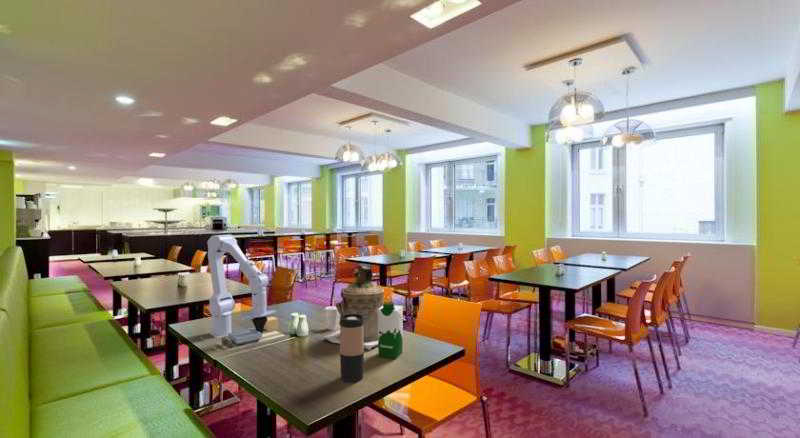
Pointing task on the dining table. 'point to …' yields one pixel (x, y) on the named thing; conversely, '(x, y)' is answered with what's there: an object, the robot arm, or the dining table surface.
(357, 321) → the travel mug
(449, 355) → the dining table surface
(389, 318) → the milk carton
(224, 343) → the track
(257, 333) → the blue square tray
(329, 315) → the smoothie
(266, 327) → the ochre block
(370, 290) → the cookie jar
